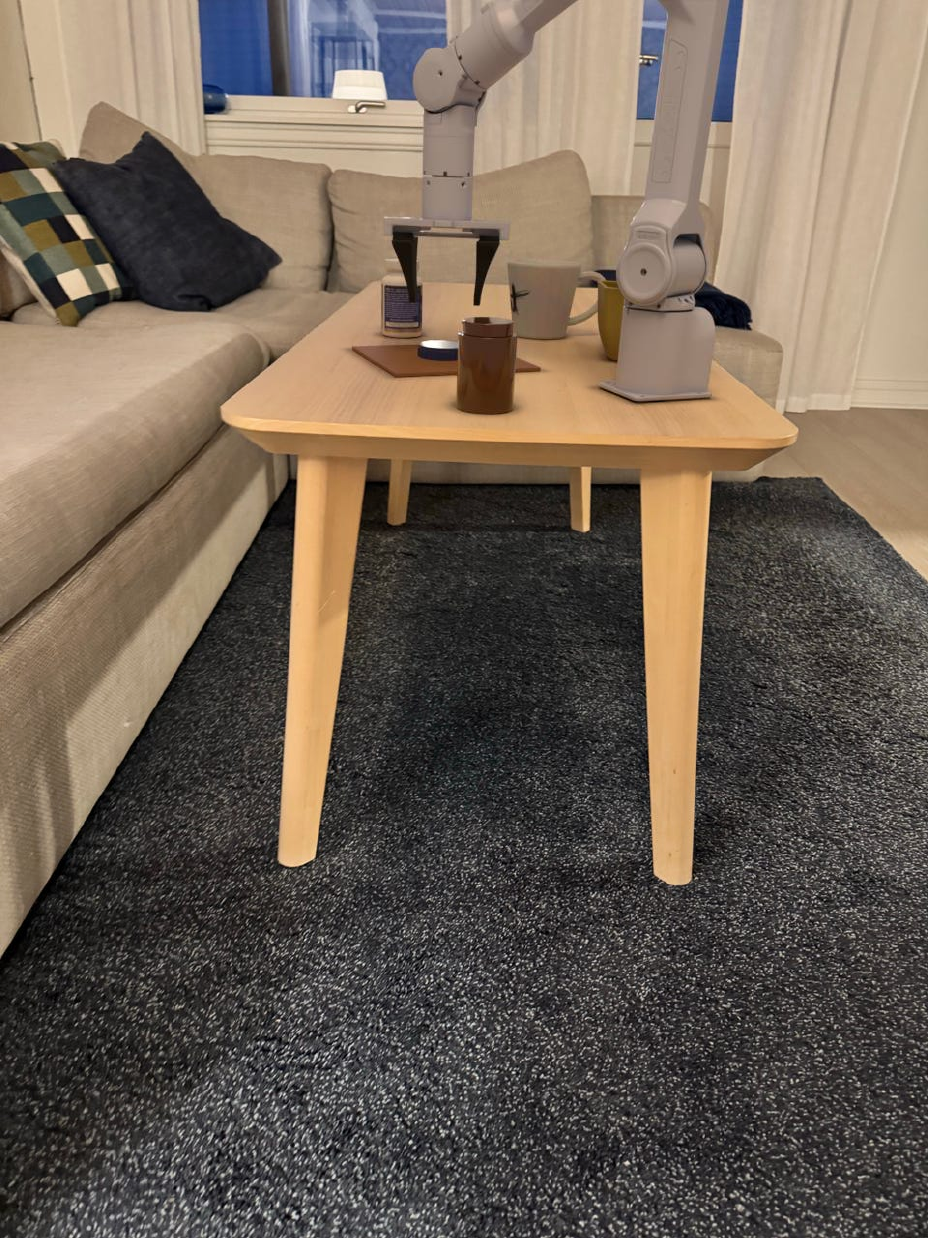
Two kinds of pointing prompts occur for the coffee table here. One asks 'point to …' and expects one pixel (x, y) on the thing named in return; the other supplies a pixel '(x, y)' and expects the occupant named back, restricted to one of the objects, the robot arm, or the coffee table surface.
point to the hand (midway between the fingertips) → (444, 303)
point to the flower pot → (610, 316)
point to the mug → (546, 296)
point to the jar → (486, 365)
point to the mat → (417, 361)
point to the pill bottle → (399, 303)
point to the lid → (438, 350)
